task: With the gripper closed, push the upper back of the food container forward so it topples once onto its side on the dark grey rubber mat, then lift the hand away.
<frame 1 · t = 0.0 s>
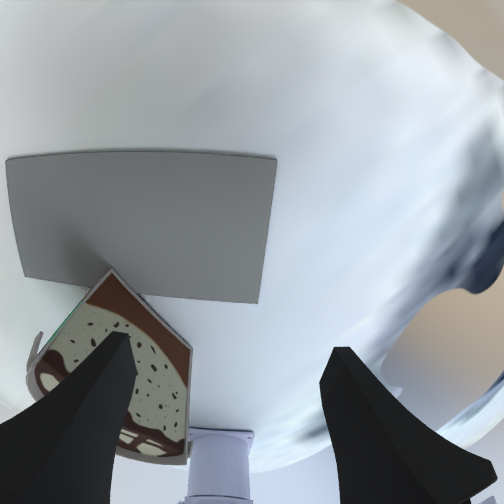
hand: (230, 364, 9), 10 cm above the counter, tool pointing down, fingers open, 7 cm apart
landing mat: (116, 226, 18), on the counter
food container: (129, 324, 21), on the counter, touching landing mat
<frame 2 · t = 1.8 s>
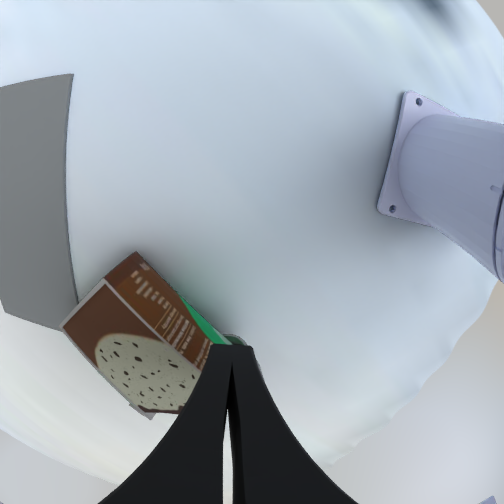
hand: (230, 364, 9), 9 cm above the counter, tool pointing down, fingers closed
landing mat: (18, 218, 16), on the counter
food container: (105, 275, 16), point 2 cm above the counter
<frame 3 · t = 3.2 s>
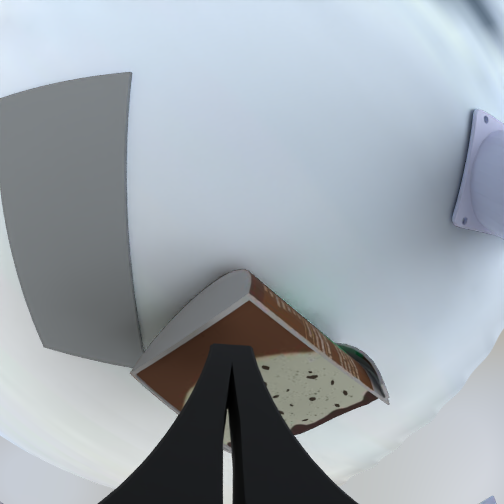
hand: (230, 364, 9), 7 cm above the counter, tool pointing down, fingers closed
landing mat: (61, 245, 15), on the counter
food container: (192, 304, 15), point 2 cm above the counter
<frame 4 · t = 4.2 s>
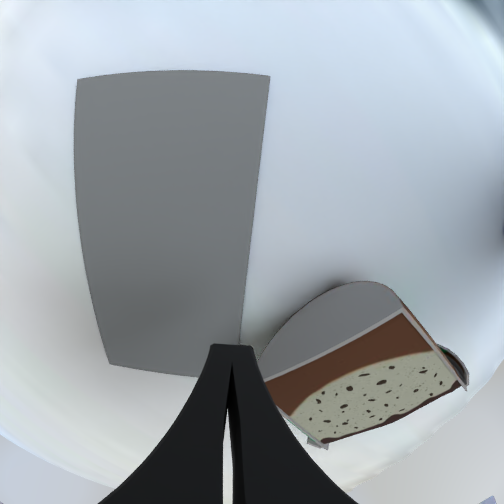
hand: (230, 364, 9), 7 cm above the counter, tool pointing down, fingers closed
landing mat: (159, 255, 16), on the counter
food container: (315, 313, 16), point 2 cm above the counter
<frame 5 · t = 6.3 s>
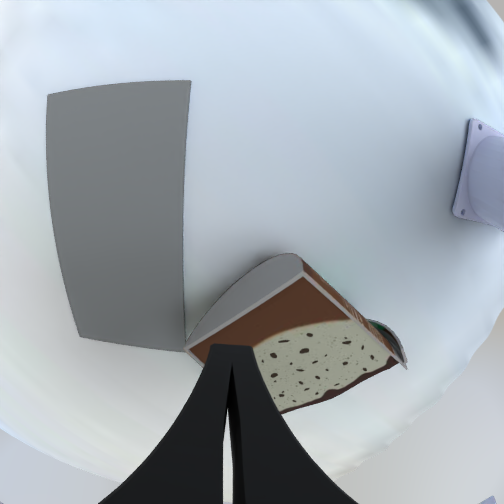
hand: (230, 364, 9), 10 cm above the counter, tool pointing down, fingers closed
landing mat: (112, 235, 18), on the counter
food container: (242, 284, 18), point 2 cm above the counter
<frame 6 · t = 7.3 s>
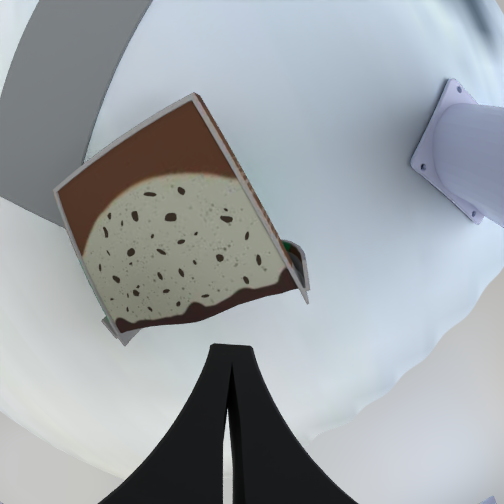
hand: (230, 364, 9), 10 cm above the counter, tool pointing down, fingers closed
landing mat: (52, 77, 13), on the counter
food container: (139, 139, 14), point 2 cm above the counter
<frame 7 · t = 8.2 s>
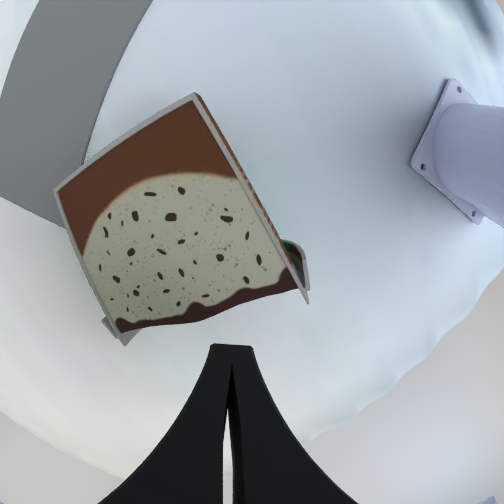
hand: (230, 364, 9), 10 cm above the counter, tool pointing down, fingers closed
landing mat: (52, 77, 13), on the counter
food container: (139, 139, 14), point 2 cm above the counter
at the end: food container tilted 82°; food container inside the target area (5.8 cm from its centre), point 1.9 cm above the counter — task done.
